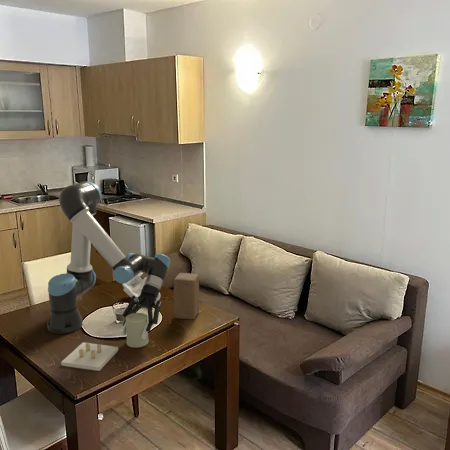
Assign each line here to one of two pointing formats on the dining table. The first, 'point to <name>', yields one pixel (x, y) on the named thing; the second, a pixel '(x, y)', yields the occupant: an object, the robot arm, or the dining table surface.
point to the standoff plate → (90, 356)
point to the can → (136, 329)
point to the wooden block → (186, 295)
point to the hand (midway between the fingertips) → (132, 336)
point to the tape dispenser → (136, 286)
